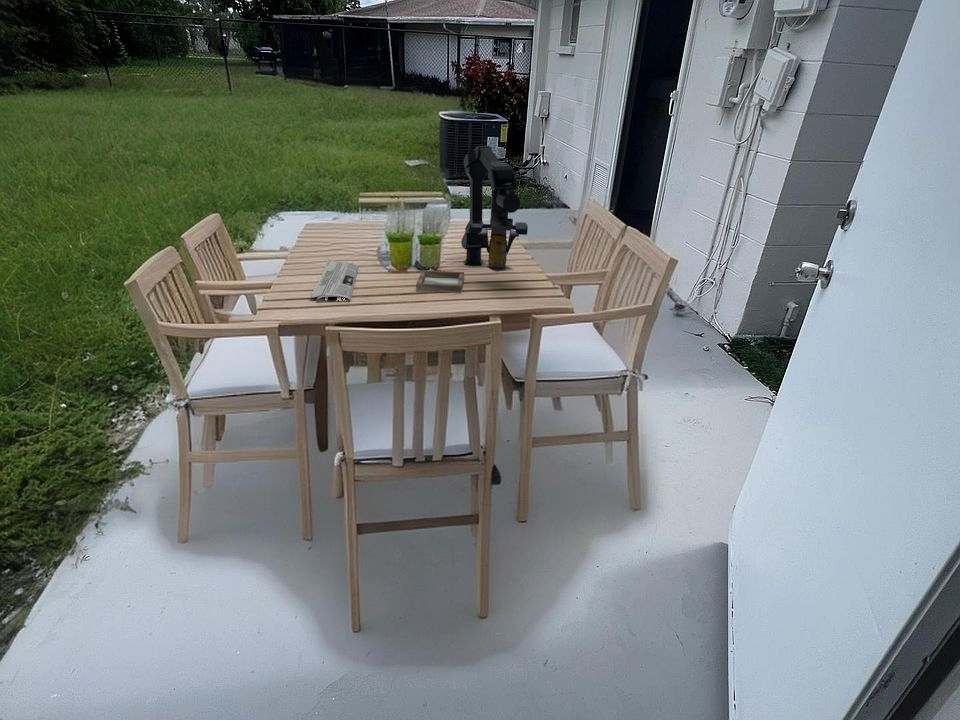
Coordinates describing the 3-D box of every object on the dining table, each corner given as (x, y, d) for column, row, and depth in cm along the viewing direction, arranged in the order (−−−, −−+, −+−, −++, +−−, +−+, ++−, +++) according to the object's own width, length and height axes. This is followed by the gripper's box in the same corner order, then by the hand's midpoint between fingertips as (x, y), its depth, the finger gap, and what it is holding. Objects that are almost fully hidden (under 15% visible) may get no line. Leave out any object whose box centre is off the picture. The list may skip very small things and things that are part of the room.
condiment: (500, 262, 198) (502, 228, 192) (513, 269, 191) (515, 234, 186) (482, 265, 194) (483, 230, 189) (495, 272, 188) (496, 236, 182)
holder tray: (421, 277, 201) (421, 270, 200) (464, 278, 201) (464, 271, 200) (416, 291, 188) (416, 284, 187) (461, 293, 188) (461, 286, 186)
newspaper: (350, 303, 178) (349, 292, 177) (309, 304, 177) (308, 293, 175) (359, 268, 210) (358, 259, 208) (324, 268, 208) (323, 259, 207)
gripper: (469, 210, 176) (468, 259, 184) (529, 212, 176) (526, 261, 183) (471, 203, 186) (470, 249, 193) (528, 205, 186) (525, 251, 193)
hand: (497, 253), depth 191 cm, fingers closed on condiment, 6 cm apart
